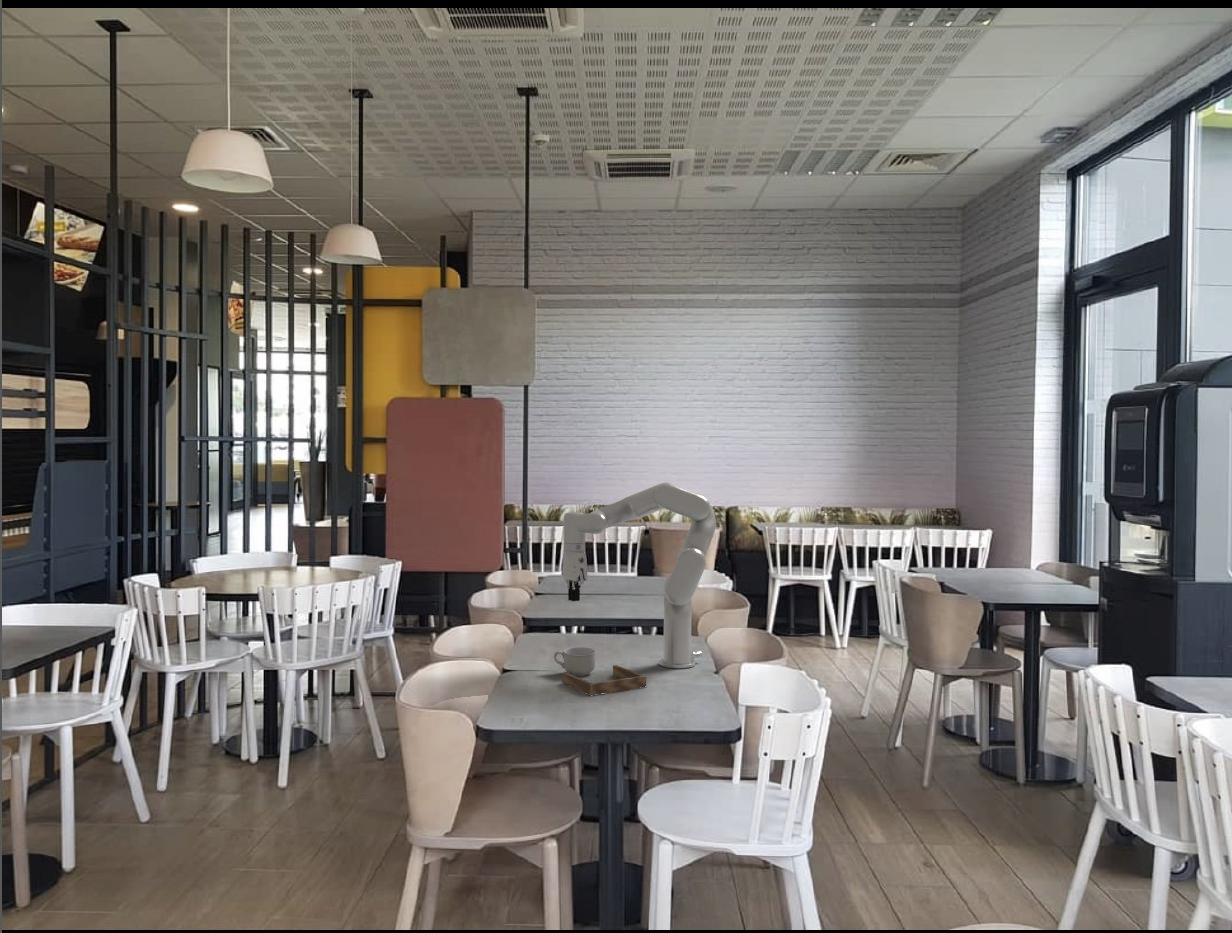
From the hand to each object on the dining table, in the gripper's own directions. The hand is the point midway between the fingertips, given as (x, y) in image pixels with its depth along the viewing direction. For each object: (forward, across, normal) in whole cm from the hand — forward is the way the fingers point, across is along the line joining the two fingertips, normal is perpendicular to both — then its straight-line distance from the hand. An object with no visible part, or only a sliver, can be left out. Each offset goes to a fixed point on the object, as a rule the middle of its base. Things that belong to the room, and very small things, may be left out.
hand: (573, 600), depth 338 cm
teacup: (+22, -13, +7) cm, 27 cm away
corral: (+22, -31, +7) cm, 39 cm away
